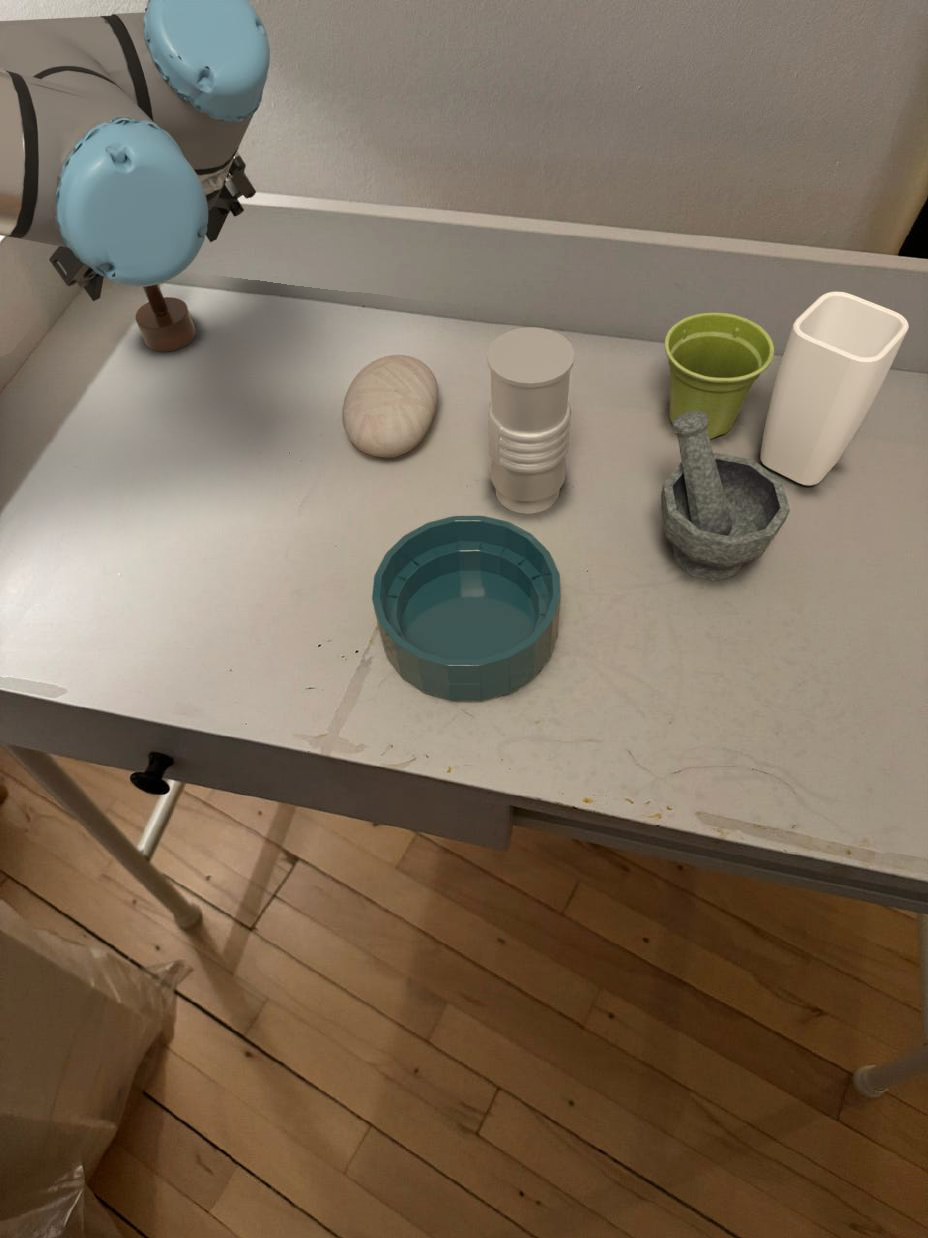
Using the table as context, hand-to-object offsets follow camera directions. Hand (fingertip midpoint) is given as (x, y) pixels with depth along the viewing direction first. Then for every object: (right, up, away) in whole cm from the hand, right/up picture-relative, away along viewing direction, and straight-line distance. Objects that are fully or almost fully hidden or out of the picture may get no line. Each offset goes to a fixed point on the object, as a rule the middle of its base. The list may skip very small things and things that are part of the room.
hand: (148, 257), depth 83 cm
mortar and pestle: (+52, -30, -11) cm, 61 cm away
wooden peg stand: (-1, -5, +9) cm, 10 cm away
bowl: (+32, -37, -15) cm, 51 cm away
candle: (+37, -24, -6) cm, 45 cm away
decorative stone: (+25, -17, -1) cm, 30 cm away
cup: (+62, -22, -6) cm, 66 cm away
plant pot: (+54, -17, -2) cm, 57 cm away
